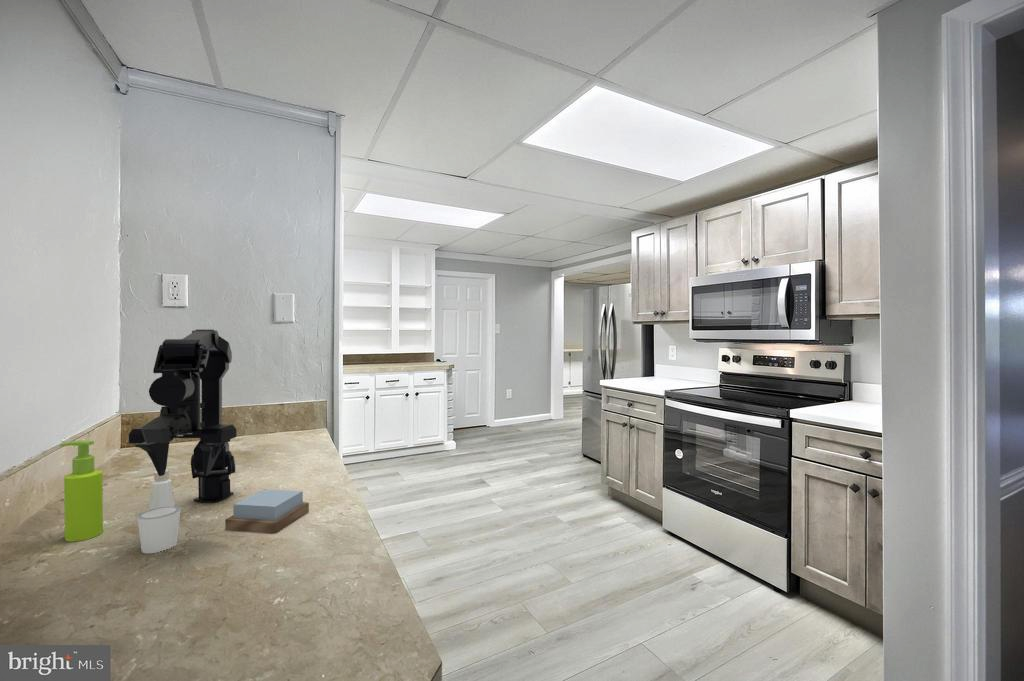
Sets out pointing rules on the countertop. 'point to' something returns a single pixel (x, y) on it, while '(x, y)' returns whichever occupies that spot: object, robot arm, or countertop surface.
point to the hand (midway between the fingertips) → (184, 475)
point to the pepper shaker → (161, 492)
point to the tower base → (266, 522)
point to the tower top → (268, 504)
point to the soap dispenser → (83, 496)
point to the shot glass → (158, 528)
